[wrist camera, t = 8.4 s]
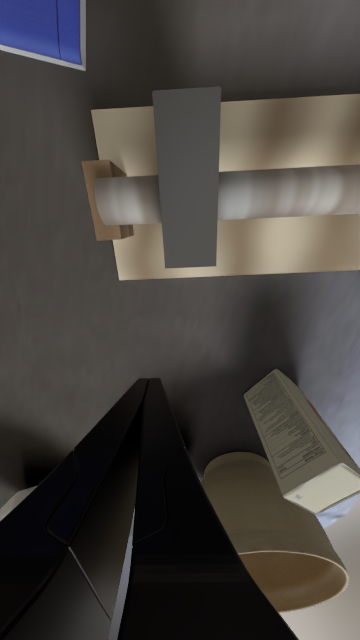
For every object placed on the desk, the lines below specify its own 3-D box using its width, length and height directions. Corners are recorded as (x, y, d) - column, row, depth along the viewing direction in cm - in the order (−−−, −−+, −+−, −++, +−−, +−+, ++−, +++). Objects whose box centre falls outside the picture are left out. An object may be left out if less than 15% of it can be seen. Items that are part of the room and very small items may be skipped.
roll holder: (435, 93, 14) (591, 16, 8) (376, 267, 18) (452, 286, 13) (94, 114, 14) (44, 52, 9) (121, 278, 19) (98, 300, 14)
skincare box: (266, 411, 26) (313, 517, 17) (241, 393, 24) (277, 497, 15) (302, 386, 24) (377, 489, 15) (277, 365, 23) (342, 463, 14)
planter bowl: (244, 413, 26) (283, 533, 16) (316, 470, 30) (380, 589, 21) (156, 471, 31) (145, 589, 21) (230, 512, 35) (249, 624, 26)
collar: (202, 146, 14) (221, 86, 8) (202, 248, 17) (216, 266, 10) (165, 149, 14) (152, 90, 8) (170, 250, 17) (165, 268, 10)
